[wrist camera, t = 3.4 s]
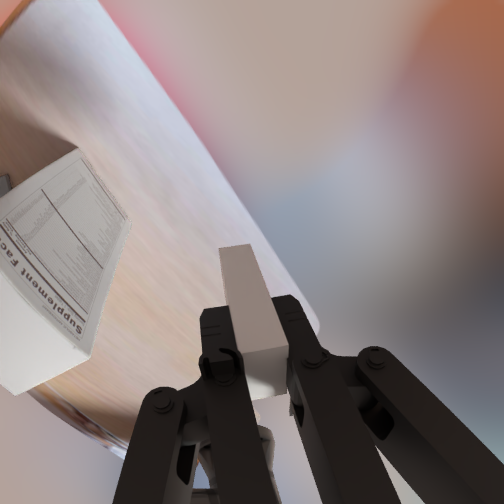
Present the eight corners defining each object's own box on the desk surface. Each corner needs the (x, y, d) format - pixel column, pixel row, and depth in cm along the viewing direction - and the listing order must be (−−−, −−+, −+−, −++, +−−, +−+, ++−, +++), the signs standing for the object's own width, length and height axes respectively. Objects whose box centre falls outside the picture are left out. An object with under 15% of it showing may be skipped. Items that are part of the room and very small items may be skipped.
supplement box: (17, 201, 23) (-84, 301, 9) (78, 143, 23) (-39, 216, 8) (71, 270, 28) (15, 401, 14) (135, 225, 27) (94, 363, 13)
